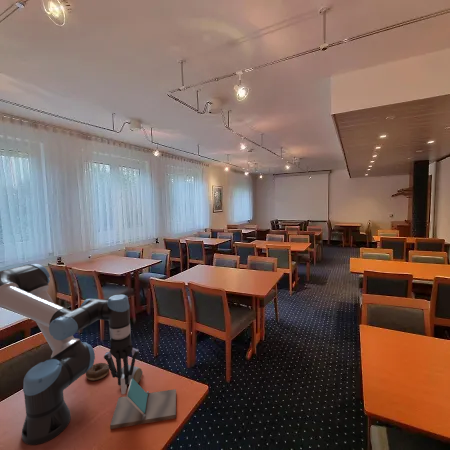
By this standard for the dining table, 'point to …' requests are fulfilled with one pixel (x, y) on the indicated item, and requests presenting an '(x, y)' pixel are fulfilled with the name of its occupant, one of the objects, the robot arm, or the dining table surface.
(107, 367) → the donut
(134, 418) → the hinge board
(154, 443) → the dining table surface
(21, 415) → the dining table surface
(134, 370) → the ceramic mug
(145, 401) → the tile
